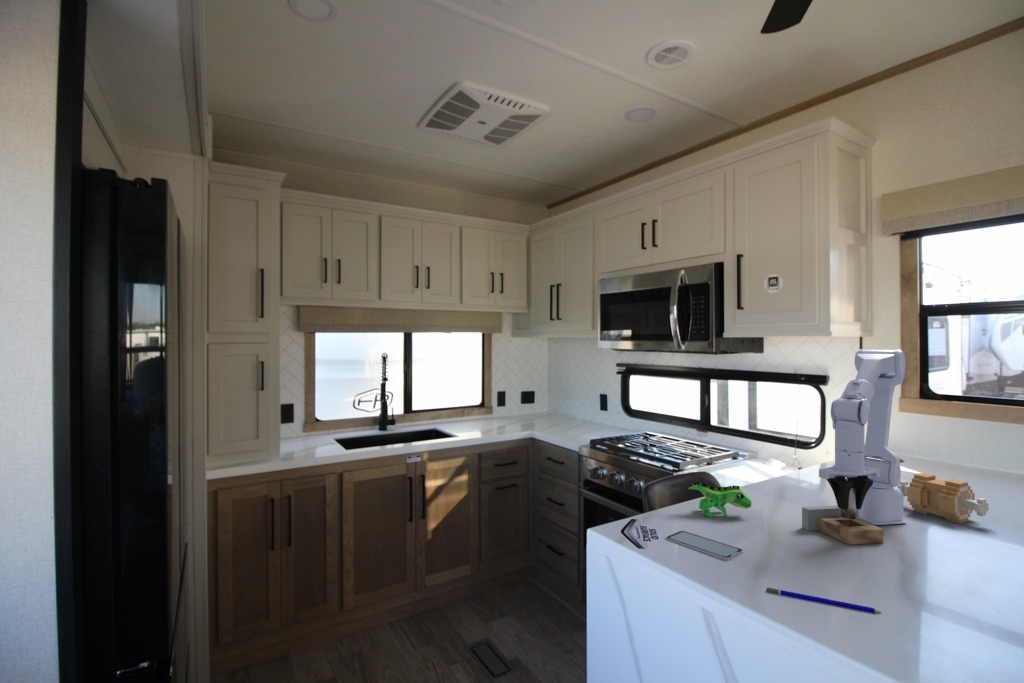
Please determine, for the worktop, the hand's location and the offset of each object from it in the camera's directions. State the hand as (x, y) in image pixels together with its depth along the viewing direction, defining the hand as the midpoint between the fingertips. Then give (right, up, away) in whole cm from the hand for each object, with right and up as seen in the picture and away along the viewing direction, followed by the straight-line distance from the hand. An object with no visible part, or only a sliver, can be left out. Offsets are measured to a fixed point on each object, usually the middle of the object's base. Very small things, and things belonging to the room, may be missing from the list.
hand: (849, 508), depth 114 cm
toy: (-25, -7, +14) cm, 29 cm away
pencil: (-25, -7, -30) cm, 40 cm away
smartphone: (-37, -7, -6) cm, 38 cm away
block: (0, -7, 0) cm, 6 cm away
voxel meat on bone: (+34, -7, +15) cm, 38 cm away
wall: (-1, -7, +5) cm, 9 cm away
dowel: (0, -2, 0) cm, 2 cm away
